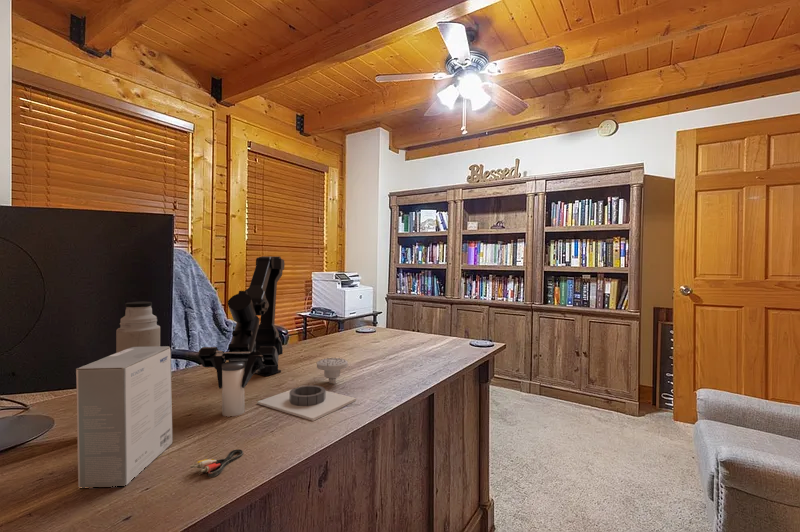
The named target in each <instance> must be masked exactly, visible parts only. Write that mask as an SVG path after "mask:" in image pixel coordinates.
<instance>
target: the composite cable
mask: <svg viewBox="0 0 800 532" xmlns="http://www.w3.org/2000/svg"><path fill="white" fill-rule="evenodd" d="M243 455H244V451H243V450H242V449H239V448H238V449H233V450H231V451H230V452H228V455H227V456H226V457H225V458H222V459H221V458H220V459H215V458H212V459H208V458H205V459H202V460H201V459H200V460H198V461H196V462H195V463H194V464H191V465H190V466H189V468H190V469H192V468H193V469H196V468H197V469H201V470H199V471H198V476H200V474H201V475H204V474H206V473H207V472H208V473H207V477H208V476H209V477H208V478H211V477H212V478H215V477H217V476H218V475H220V474H221V473H222V471H223V470H224V469H225V467H226V466H228V465H229V464H230V463H232V462H234V461H236V460H238V459H240V458H241V457H242V456H243ZM203 473H204V474H203Z"/></svg>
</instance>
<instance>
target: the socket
mask: <svg viewBox="0 0 800 532" xmlns="http://www.w3.org/2000/svg"><path fill="white" fill-rule="evenodd" d="M356 401H357V397H353V396H348V395H345V394H341V393H336V392H333V391H330V390H329V391H328V390H326V388H325V387H324V386H320V385H312V384H309V385H308V384H307V385H300V386H297V387H294V388H292V389H289V390H287V391H283V392H280V393H277V394H275V395H273V396H269V397H267V398H263V399H261V400H258V401H257V405H261V406H264V407H267V408H270V409H273V410H277V411H279V412H283V413H286V414H289V415H293V416H296V417H300V418H301V419H305V420H309V421H312V422H314V421H315V420H318V419H321V418H322V417H324V416H327V415H329V414H331V413H333V412H335V411H337V410H339V409H342V408H343V407H346V406H348V405H350V404H352V403H354V402H356Z"/></svg>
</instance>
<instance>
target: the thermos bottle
mask: <svg viewBox="0 0 800 532" xmlns="http://www.w3.org/2000/svg"><path fill="white" fill-rule="evenodd" d="M152 306H153V302H152V301H132V302H126V303H125V304H124V307H125V314H124V316H123V317H121V318H120V323H119V325H120V327H118V328H117V329H116V335H115V338H116V341H115V342H116V343H115V344H116V347H115V348H116V351H115V353H118V352H121V351H123V350H126V349H129V348H131V347H154V346H161V326H160V325H159V324H158V323H157V322H158V317H157V315H154V314H153V308H152Z"/></svg>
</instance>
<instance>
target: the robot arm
mask: <svg viewBox="0 0 800 532" xmlns="http://www.w3.org/2000/svg"><path fill="white" fill-rule="evenodd" d="M285 265H286V263H285V260H284V258H282V257H281V256H279V255H278V256H271V255H270V256H267V255H262V256H258V257H256V258H255V268H254V271H253V274H252V277H251V280H250V283H249V286H248V287H247V289H245V290H239V291H238V293H236V294H233V295H232V296H231V297H230V298H229V299H228V301H227V306H228V310H229V311H230V314H231V318H232V320H233V322H236V324H235V327H234V330H232V332H231V335H232V338H231V342H230V343H229V344H228V346H227V348H228V351H223V350H219V349H218V347H217V346H202V347H201V348H200V349H199V350H198V352H197V359H198V360H199V362H200V363H201V365H202V367H203V368H214V369H215V370H216V376H217V384H218V388H219V389H221V390H222V364H223V363H226V362H231V361H243V362H245V368H244V376H243V380H242V388H244V389H245V387H246V386H247V384H248V383H249V382H250V380H251V378H252V377H253V376H254V374H255V375H260V376H264V377H268V376H271V375H274V374H278V373H281V372H282V369H279V356H280V355H283V353H284V352H283V349H284V347H283V344H282V340H281V337H280V333H279V330H278V328H277V326H276V325H275V321H276V320H275V318H276V305H277V304H276V303H277V289H278V288H277V286H278V282H279V281H280V279H281V278H282V276H283V271H284V270H285ZM258 316H260V317H258Z"/></svg>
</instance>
